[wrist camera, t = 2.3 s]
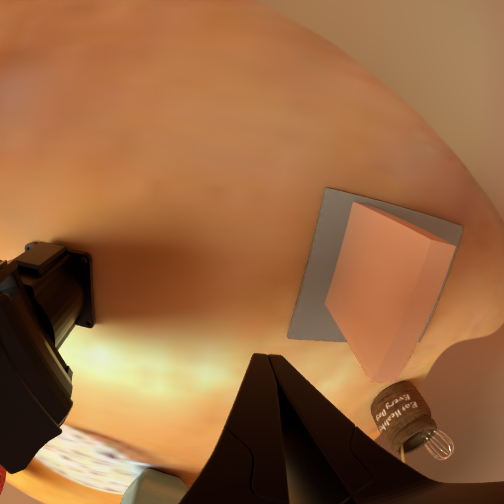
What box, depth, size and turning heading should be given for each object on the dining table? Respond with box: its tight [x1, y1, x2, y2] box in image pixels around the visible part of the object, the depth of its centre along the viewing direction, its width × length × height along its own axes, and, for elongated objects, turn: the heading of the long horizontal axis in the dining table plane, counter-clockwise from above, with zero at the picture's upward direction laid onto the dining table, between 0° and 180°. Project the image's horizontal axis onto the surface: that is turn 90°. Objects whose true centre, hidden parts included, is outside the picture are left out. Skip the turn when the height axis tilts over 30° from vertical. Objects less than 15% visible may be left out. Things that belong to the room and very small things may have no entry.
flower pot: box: [120, 468, 188, 504], centre depth 26 cm, size 9×9×9 cm
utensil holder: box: [371, 382, 454, 464], centre depth 22 cm, size 6×6×12 cm
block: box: [325, 202, 456, 383], centre depth 17 cm, size 8×2×9 cm, turn 169°
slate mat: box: [287, 187, 464, 342], centre depth 22 cm, size 12×14×1 cm
